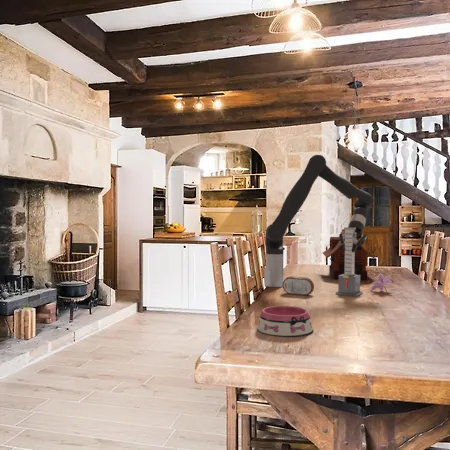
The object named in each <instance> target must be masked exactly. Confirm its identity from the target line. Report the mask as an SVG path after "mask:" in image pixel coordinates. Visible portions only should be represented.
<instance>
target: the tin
mask: <svg viewBox="0 0 450 450" xmlns="http://www.w3.org/2000/svg"><path fill="white" fill-rule="evenodd" d="M282 289H283V291H284V292H285V293H287V294H289V295H295V296H296V295H297V296H309V295H311V294H312V293H313V291H314V289H315V285H314V282H313V280H312V279H310V278H309V277H304V276H288V277H286V278H285V279H283V286H282Z"/></svg>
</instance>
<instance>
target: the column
mask: <svg viewBox="0 0 450 450" xmlns="http://www.w3.org/2000/svg"><path fill="white" fill-rule="evenodd" d="M343 229H344V230H345V274H344V275H347V276H355V274H354V261H355V251H354V253H353V252H352V247H353V244H354V239H355V230H356V228H352V227H348V226H347V227H344V228H343Z"/></svg>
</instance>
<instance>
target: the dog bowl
mask: <svg viewBox="0 0 450 450" xmlns="http://www.w3.org/2000/svg"><path fill="white" fill-rule="evenodd" d="M256 330H257V332H259V333H261V334H263V335H267V336H271V337H277V338H300V337H305V336H309V335H312V333H314V329H313V324H312V322H311V315H310V312H309V310H308V309H306V308H304V307H300V306H292V305H275V306H274V305H273V306H268V307H264V308H263V309H261V312H260V316H259V320H258V323H257V328H256Z"/></svg>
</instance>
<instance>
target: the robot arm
mask: <svg viewBox="0 0 450 450" xmlns="http://www.w3.org/2000/svg"><path fill="white" fill-rule="evenodd" d="M307 162H308V163H307V164H306V167H305V169H304V171H303V173H302V175H300V176H299V178H298V180H297V181H296V182H295V184H294V185H293V187H291V189H290V191H289V193H288V194H287V196H286V197H285V200H284V201H283V204H282V206H281V209H280V211H279V213H278V215H277V216H276V217H275V219H274V221H273V222H272V223H270V224H269V225H268V226H267V227H266V229H265V253H266V254H265V267H264V269H263V270H264V271H263V272H264V273H263V275H264V281H263V283H264V284H263V285H264V286H265V287H268V288H281V287H282V288H283V281H284V250H285V249H284V237H285V233H287V229H288V228H289V226H290V224H291V222H292V221H293V219H295V218H294V217H295V216H296V215H297V213H298V212H299V211H300V209H301V208H302V207H303V205H304V203H305V202H306V200H307V198H308V196H309V194H310V192H311V190H312V187H313V185H314V183H315V182H316V180H317V179H318V178H321V179H322V180H324V181H326V182H327V183H328V184H329V185H331V186H332V187H333V188H335V189H336V190H337V191H339V192H340V193H341V194H342V195H343V197H345V198H347V199H349V200H351V199H354V198H355V199H357V200H355V202H354V204H353V213H352V216H351V217H350V220H349V223H348V225H347V227H352V228H356V230H355V239H354V244H353V247H352V252H353V253H354V251H356V248H357V247H358V246H362V247H363V245H364V243H365V242H366V241H367V239H368V238H367V234H363V232H364V231H365V227H366V222H367V218H368V209H369V208H370V207H371V206H372V205H373V204H374V201H375V200H374V197H373V195H372V194H370V193H369V192H367V191H365V190H363V189H360V188H358V187H356V186H355V185H354V184H353V183H351V182H350V181H349V180H348V179H346V178H345V177H343V176H341V175H339V174H338V173H336V172H334V171H333V170H332V169H331V168H330V167H329V166H328V165H327V160H326V157H325V156H323V155H322V154H314V155H312V156H311V157H310V158H309V160H308V161H307ZM339 236H340V242H341V245H343V247H342V249H343V251H344V252H345V241H343V239H344V237H345V234H343V235H342V234H341V233H339V235H338V237H339ZM358 240H359V241H358Z"/></svg>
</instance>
